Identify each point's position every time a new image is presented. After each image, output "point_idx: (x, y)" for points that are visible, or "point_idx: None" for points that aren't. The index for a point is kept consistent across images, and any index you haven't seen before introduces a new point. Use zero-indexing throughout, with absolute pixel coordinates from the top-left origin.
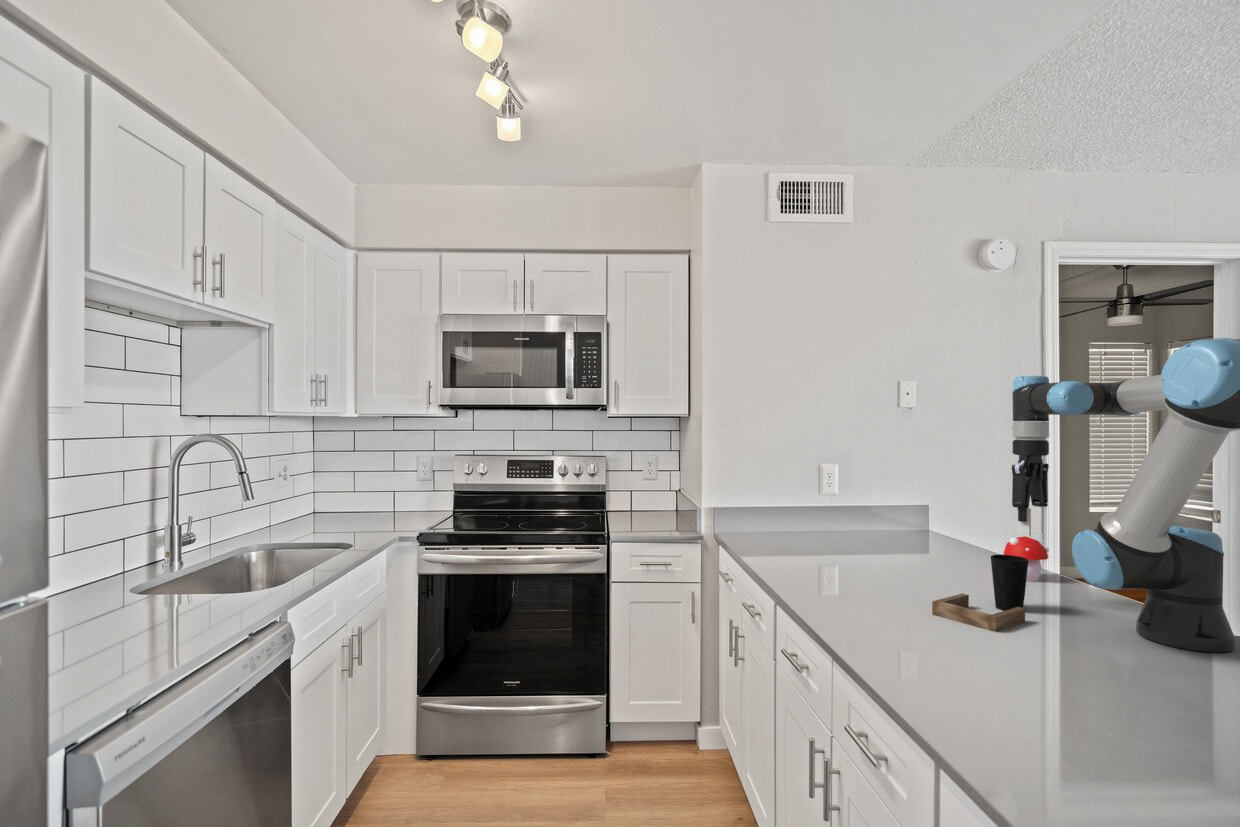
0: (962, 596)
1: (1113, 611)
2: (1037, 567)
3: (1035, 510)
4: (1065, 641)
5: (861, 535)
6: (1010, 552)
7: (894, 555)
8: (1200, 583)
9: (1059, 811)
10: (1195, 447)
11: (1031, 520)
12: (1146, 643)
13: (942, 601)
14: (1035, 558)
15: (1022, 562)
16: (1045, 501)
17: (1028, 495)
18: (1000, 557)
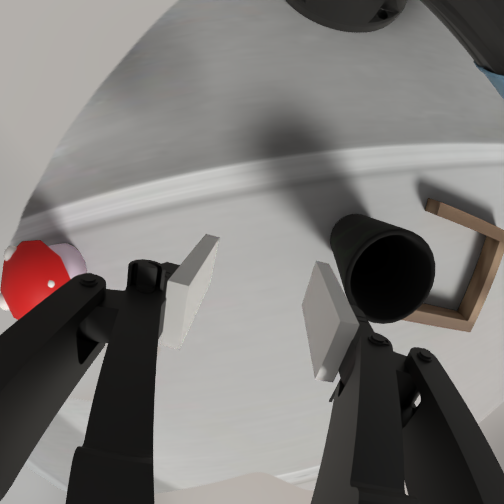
0: (420, 311)
1: (214, 72)
2: (56, 251)
3: (190, 307)
4: (483, 135)
5: (49, 463)
6: None
7: None
8: None
9: None
10: None
11: (200, 299)
12: (409, 28)
13: (465, 322)
14: (58, 259)
15: (422, 238)
16: (103, 286)
17: (389, 388)
18: (357, 305)
